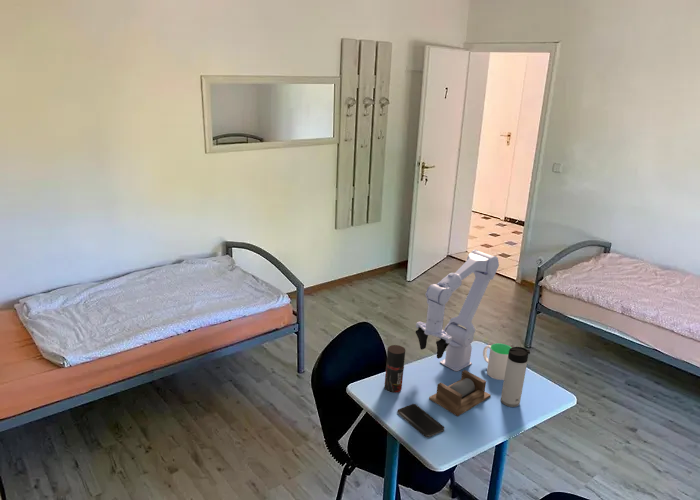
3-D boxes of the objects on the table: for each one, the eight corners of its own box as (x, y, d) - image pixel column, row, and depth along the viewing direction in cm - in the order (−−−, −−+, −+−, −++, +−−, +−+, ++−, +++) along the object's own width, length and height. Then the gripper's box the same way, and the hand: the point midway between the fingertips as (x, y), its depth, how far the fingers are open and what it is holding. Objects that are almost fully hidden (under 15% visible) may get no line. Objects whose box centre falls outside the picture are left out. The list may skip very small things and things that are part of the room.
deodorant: (395, 394, 187) (399, 355, 182) (381, 388, 190) (384, 349, 185) (404, 387, 191) (408, 349, 186) (390, 381, 195) (393, 343, 190)
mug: (474, 366, 207) (477, 342, 203) (488, 361, 211) (492, 336, 208) (499, 382, 198) (503, 356, 194) (513, 376, 202) (518, 350, 199)
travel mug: (521, 409, 183) (531, 355, 176) (501, 405, 184) (509, 352, 178) (519, 398, 189) (529, 346, 182) (500, 395, 190) (508, 343, 183)
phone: (427, 436, 166) (396, 410, 177) (426, 439, 166) (395, 413, 178) (446, 428, 170) (414, 402, 182) (445, 431, 170) (414, 405, 182)
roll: (461, 387, 191) (464, 375, 189) (473, 395, 188) (476, 382, 186) (445, 396, 186) (447, 384, 184) (456, 404, 182) (459, 392, 180)
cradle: (462, 381, 197) (464, 366, 195) (490, 396, 189) (492, 381, 187) (429, 399, 186) (430, 383, 184) (457, 416, 177) (459, 400, 175)
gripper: (411, 313, 193) (408, 348, 197) (444, 329, 183) (439, 365, 187) (425, 308, 197) (421, 342, 202) (457, 323, 187) (452, 358, 192)
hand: (431, 353), depth 195 cm, fingers open, 7 cm apart
